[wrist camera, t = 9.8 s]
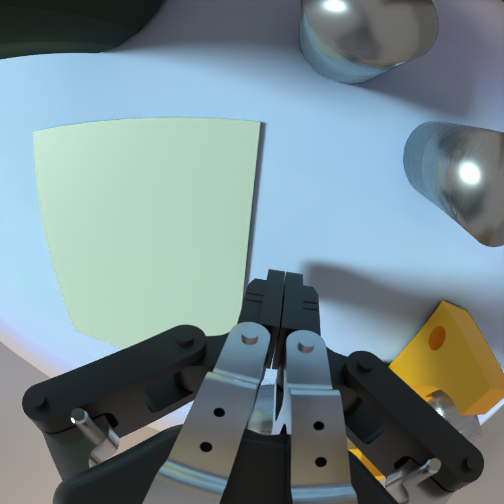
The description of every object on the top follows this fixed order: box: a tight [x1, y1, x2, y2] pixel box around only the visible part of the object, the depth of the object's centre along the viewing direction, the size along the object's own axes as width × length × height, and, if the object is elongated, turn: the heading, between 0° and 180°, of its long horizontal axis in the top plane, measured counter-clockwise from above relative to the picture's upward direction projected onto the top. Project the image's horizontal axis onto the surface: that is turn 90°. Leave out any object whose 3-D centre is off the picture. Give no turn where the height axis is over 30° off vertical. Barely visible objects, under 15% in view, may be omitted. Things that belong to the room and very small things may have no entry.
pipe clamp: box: [348, 301, 504, 480], centre depth 13 cm, size 12×4×6 cm, turn 161°
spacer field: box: [249, 0, 504, 449], centre depth 11 cm, size 26×21×5 cm
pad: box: [33, 117, 261, 349], centre depth 15 cm, size 16×14×1 cm
